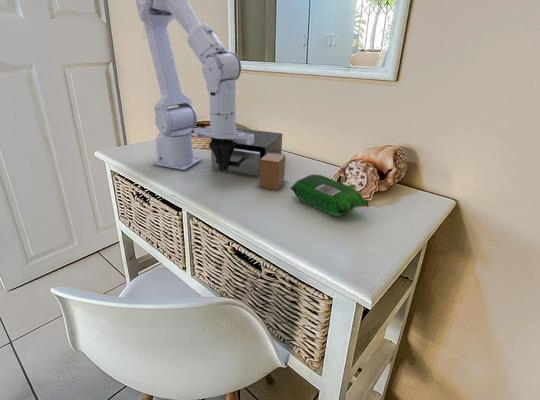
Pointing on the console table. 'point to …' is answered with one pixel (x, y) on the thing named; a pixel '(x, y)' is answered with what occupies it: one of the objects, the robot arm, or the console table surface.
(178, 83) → the robot arm
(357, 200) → the snack package
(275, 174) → the tan upright block
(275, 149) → the grey drawer cabinet
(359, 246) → the console table surface
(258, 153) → the drawer
